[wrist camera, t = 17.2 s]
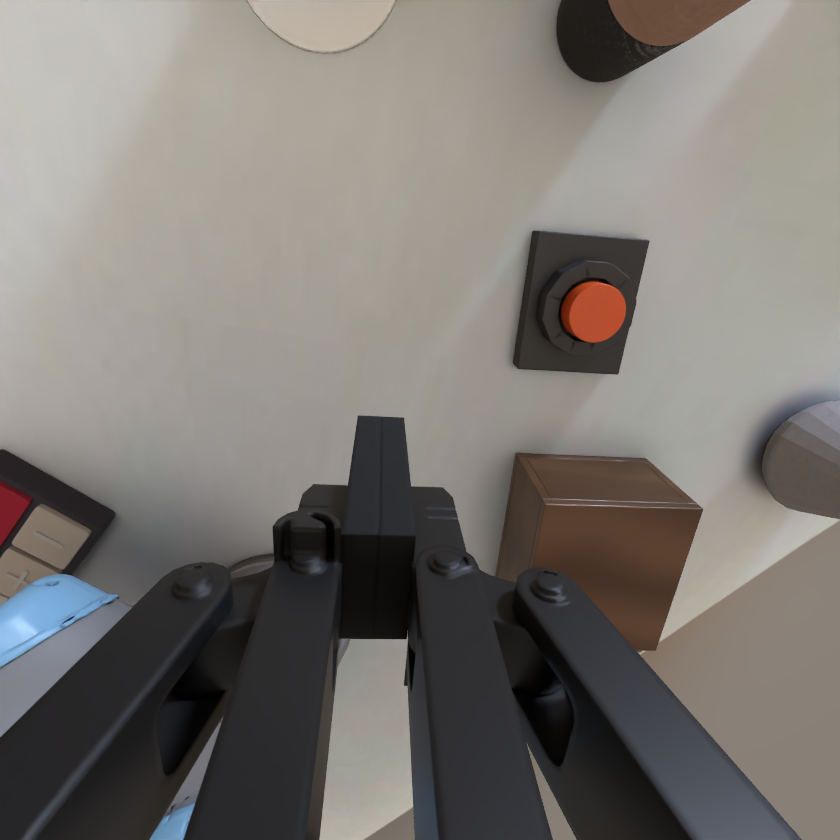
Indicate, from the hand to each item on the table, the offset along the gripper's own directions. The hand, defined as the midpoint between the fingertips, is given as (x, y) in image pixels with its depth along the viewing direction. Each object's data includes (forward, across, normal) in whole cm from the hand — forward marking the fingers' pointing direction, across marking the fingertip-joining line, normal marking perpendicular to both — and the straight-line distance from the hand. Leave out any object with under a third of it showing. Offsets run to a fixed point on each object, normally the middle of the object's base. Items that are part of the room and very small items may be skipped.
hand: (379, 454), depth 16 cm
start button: (+23, +16, +2) cm, 28 cm away
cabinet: (+26, +20, -20) cm, 38 cm away
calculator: (+27, -33, -23) cm, 48 cm away
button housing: (+26, +16, +2) cm, 31 cm away
